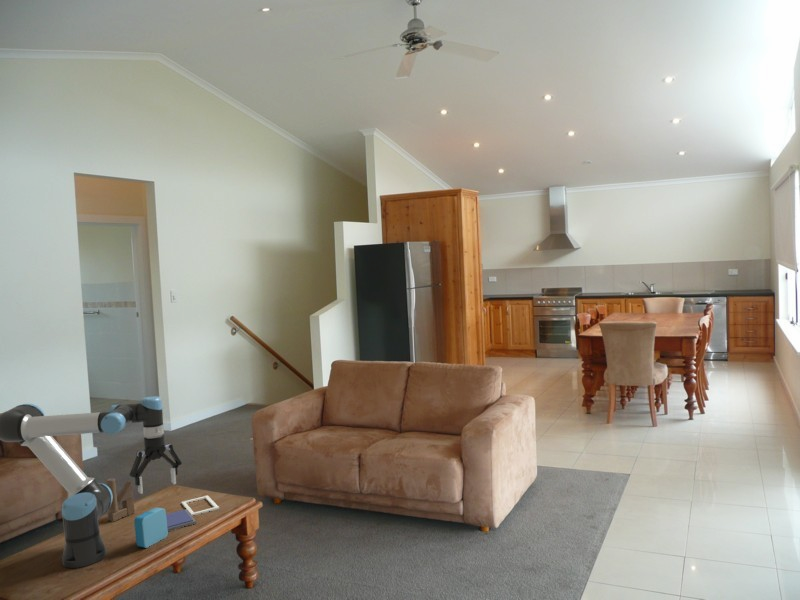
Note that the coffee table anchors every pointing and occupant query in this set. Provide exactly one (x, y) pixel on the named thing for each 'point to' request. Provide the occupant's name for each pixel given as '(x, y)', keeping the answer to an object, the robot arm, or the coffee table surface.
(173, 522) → the ink pad
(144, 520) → the data package
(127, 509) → the brown wooden mallet
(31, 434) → the robot arm
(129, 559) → the coffee table surface
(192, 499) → the frame
